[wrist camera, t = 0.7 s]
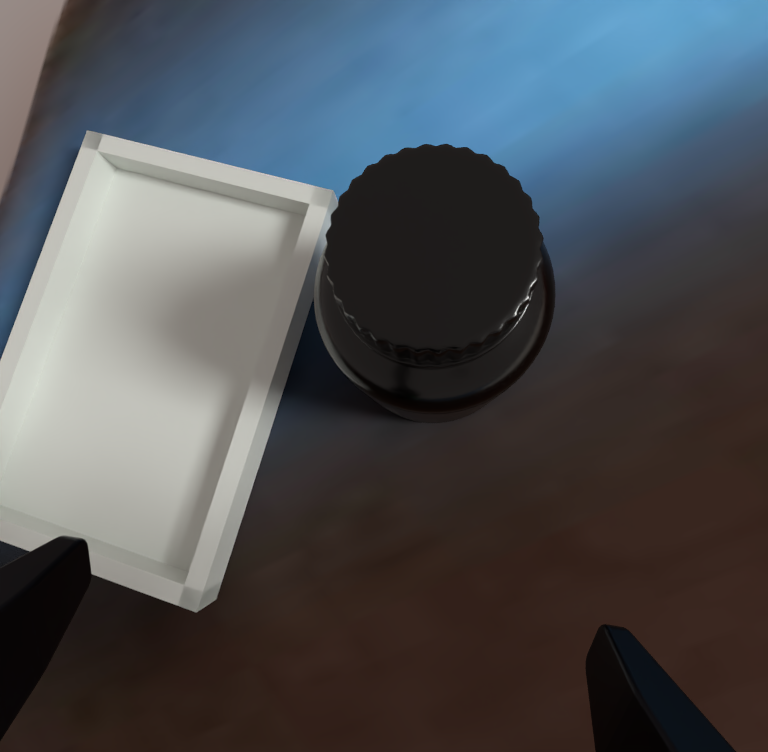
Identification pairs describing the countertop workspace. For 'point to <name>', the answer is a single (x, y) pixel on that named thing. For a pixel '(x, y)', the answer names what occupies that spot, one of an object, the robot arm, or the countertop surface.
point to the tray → (154, 361)
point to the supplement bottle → (434, 283)
